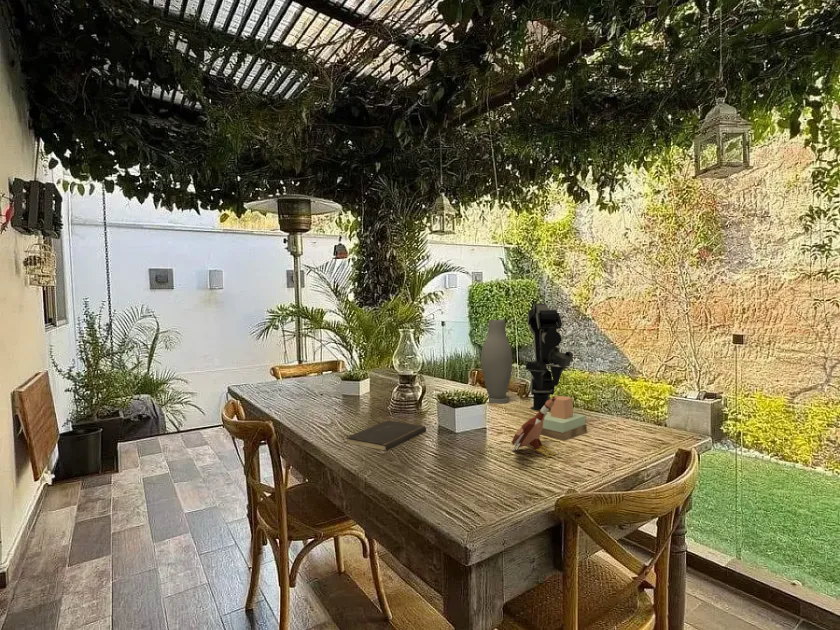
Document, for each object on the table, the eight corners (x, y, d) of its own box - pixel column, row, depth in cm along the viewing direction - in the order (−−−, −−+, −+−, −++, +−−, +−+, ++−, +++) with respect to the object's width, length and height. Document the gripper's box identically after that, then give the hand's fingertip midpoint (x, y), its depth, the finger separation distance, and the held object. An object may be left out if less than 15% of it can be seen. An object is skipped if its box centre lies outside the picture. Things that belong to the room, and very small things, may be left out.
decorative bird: (566, 464, 115) (542, 406, 117) (501, 480, 124) (480, 426, 126) (586, 433, 140) (566, 386, 142) (531, 449, 148) (513, 404, 151)
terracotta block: (559, 413, 157) (559, 395, 156) (572, 416, 153) (572, 397, 153) (551, 416, 153) (550, 398, 153) (564, 419, 150) (564, 400, 149)
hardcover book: (345, 444, 147) (345, 437, 147) (388, 426, 167) (388, 420, 167) (386, 452, 139) (385, 445, 139) (426, 432, 158) (426, 426, 158)
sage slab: (559, 419, 161) (559, 410, 161) (585, 424, 153) (585, 415, 153) (536, 426, 153) (536, 417, 153) (562, 432, 145) (562, 423, 145)
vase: (481, 404, 196) (479, 321, 195) (482, 397, 209) (480, 319, 208) (513, 404, 194) (511, 320, 193) (512, 397, 207) (511, 319, 206)
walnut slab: (560, 427, 161) (560, 419, 161) (586, 434, 153) (586, 425, 153) (537, 435, 153) (536, 426, 153) (563, 442, 145) (563, 433, 145)
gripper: (551, 348, 156) (551, 394, 156) (582, 343, 167) (583, 386, 168) (524, 345, 164) (525, 389, 165) (556, 341, 176) (556, 382, 177)
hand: (548, 387), depth 168 cm, fingers open, 9 cm apart
